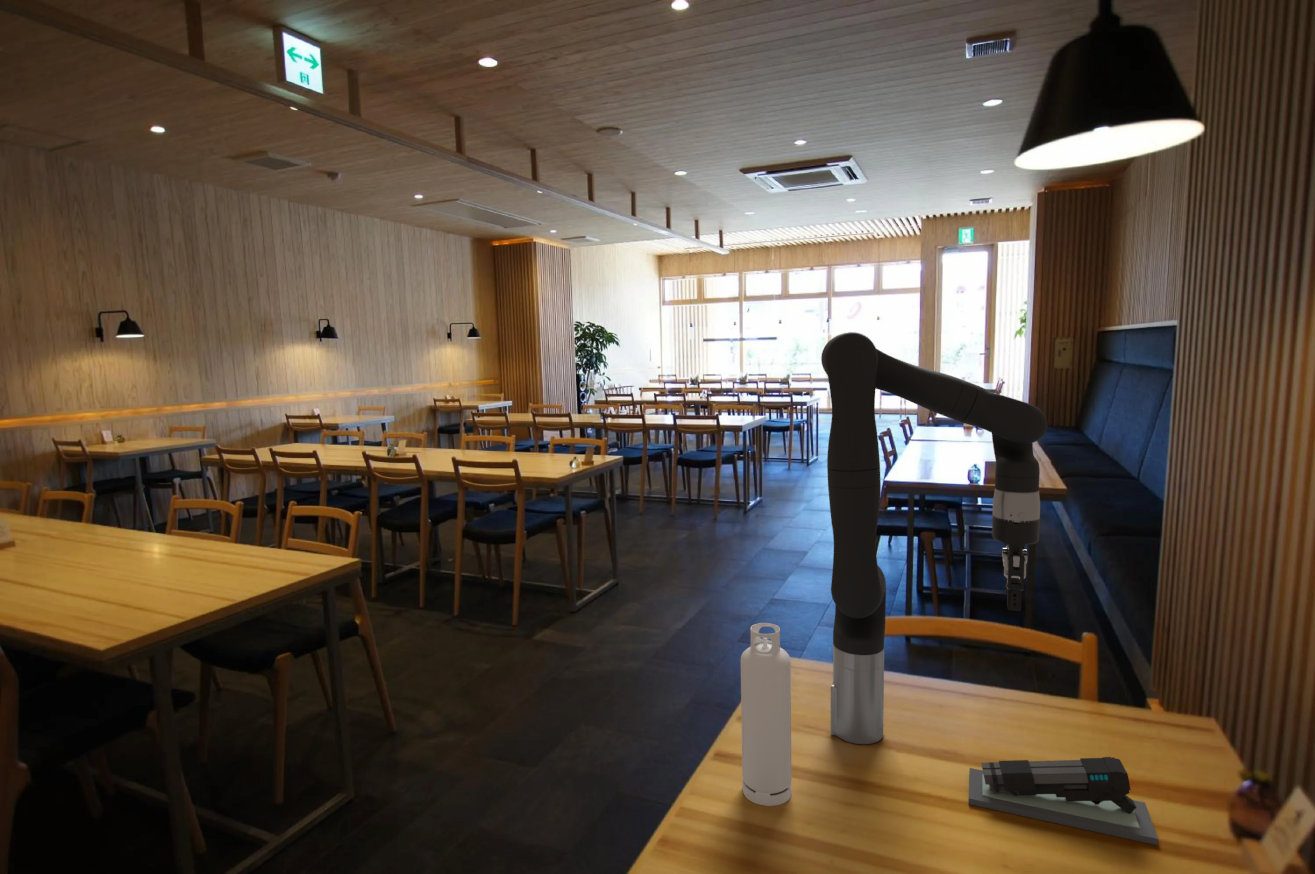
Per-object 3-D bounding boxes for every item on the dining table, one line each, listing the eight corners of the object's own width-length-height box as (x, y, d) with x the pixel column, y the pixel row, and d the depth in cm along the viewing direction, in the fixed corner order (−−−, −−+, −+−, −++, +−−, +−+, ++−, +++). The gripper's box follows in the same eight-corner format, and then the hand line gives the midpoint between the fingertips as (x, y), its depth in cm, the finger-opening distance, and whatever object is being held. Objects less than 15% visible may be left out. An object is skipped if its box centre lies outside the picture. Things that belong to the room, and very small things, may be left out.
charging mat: (968, 804, 112) (968, 796, 112) (969, 773, 120) (969, 766, 120) (1157, 845, 102) (1158, 837, 102) (1144, 808, 110) (1145, 801, 110)
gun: (1144, 817, 105) (1120, 755, 105) (1004, 835, 112) (982, 776, 112) (1134, 799, 110) (1112, 739, 110) (1000, 818, 116) (979, 761, 116)
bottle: (795, 780, 120) (794, 621, 117) (787, 809, 112) (786, 640, 109) (748, 772, 122) (745, 617, 119) (737, 800, 115) (735, 635, 112)
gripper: (992, 504, 134) (989, 587, 136) (993, 521, 121) (990, 613, 123) (1036, 507, 131) (1034, 592, 133) (1042, 525, 118) (1039, 618, 120)
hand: (1013, 602), depth 128 cm, fingers open, 8 cm apart
